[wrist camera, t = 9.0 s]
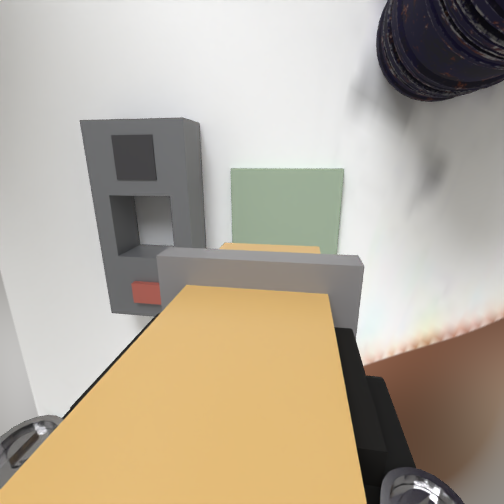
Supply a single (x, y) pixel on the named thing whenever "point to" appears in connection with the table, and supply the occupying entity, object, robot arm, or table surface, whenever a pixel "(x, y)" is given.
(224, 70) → the table surface
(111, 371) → the plug
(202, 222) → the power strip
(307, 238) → the mat
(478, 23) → the storage jar
